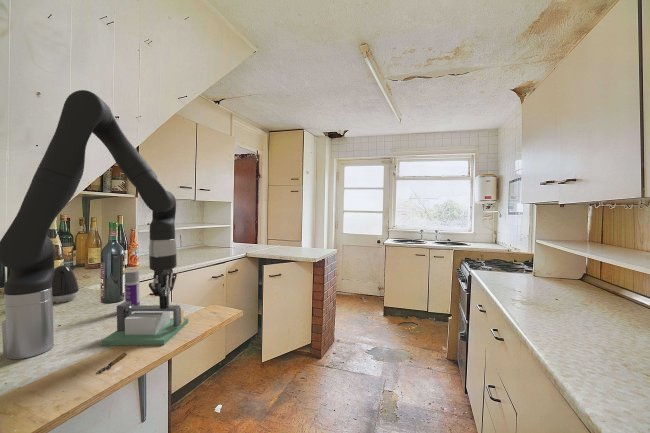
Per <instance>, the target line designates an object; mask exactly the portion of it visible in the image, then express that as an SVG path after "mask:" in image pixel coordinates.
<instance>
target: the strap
mask: <svg viewBox="0 0 650 433" xmlns="http://www.w3.org/2000/svg"><path fill="white" fill-rule="evenodd" d="M181 309H182V308H181V305H179V304H176V305H173V304H172V305H171V304H169V306H168V307H166V308H160V304H158V305H156V304H155V305H154V304H153V305H145V304H144V305H141V304H140V306H135V305H134V304H132V305H130V306H128V307H126V308H125V309H124V312H125V313H127V312H128V311H132V312H136V311H170V312H172V313H173V316H172V318H173V325H174V327H177V326H178V325H179V324H180V323H181Z"/></svg>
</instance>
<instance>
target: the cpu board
mask: <svg viewBox="0 0 650 433" xmlns="http://www.w3.org/2000/svg"><path fill="white" fill-rule="evenodd" d="M130 305H131V302H125V301H124V302H122V303H120V304H117V305H116V328H117V329H116V330H115V331H114V332H112V333H111V334H109V335H107V336H106V337H105V338H103V339H101V346H165V345H166V344H167V343H168V342H169V341H170V340H171V339H172V338H173V337H174V336H176V335H177V334H178V333H179V332H180V331H181V330H183V328H184V327H186V325H187V324H189V318H188V317H185V318H184V308H181V323H180V324H179V325H178V326H177V327H174V325H173V317H172V318H171V316H170V315H171V314H170V313H171V311H134V312H133V311H128V312H127V313H125V312H124V309H125V308H126V307H128V306H130ZM132 312H133V313H132Z"/></svg>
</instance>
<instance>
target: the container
mask: <svg viewBox="0 0 650 433" xmlns="http://www.w3.org/2000/svg"><path fill="white" fill-rule="evenodd" d="M140 287H141V286H140V270H138V269H133V270H131V269H130V270H125V272H124V292H125V293H124V297H125V298H124V300H125V301H124V302H131V305H132V304H134V305H135V306H140V305H141V298H140Z"/></svg>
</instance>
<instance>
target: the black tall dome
mask: <svg viewBox="0 0 650 433" xmlns="http://www.w3.org/2000/svg"><path fill="white" fill-rule="evenodd" d="M79 291H80V287H79V283H78V280H77V277H76V274H75V273H74V271H73V269H72V268H71V267H70V266H69V265H65V264H61V265H58V266H56V267H54V276H53V279H52V303H54V302H63V303H67V302H66V301H68V302H70V301H72V300H74V299H75V298H76V297H77V295H78V292H79Z"/></svg>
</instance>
